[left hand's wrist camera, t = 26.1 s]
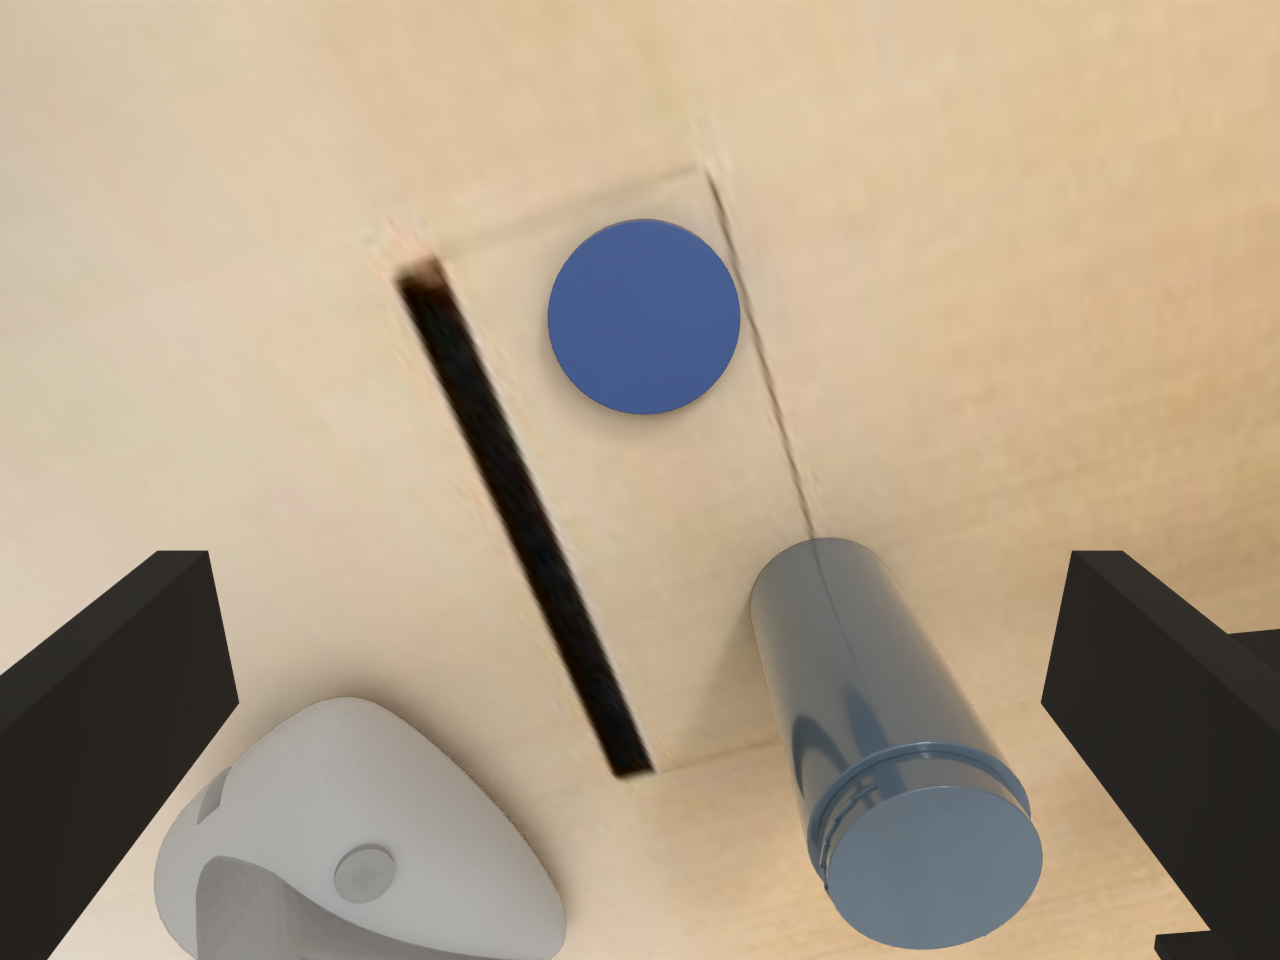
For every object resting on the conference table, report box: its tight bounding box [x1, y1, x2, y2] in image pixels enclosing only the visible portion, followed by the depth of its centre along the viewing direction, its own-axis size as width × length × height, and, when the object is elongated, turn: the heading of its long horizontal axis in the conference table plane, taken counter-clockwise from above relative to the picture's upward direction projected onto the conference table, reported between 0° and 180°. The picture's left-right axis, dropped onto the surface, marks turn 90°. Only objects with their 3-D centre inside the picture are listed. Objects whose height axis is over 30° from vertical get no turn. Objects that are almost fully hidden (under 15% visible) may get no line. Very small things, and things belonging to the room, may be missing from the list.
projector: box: [154, 697, 566, 960], centre depth 44 cm, size 22×23×15 cm
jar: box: [750, 538, 1042, 950], centre depth 37 cm, size 8×8×19 cm
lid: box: [548, 219, 740, 414], centre depth 39 cm, size 9×9×2 cm
